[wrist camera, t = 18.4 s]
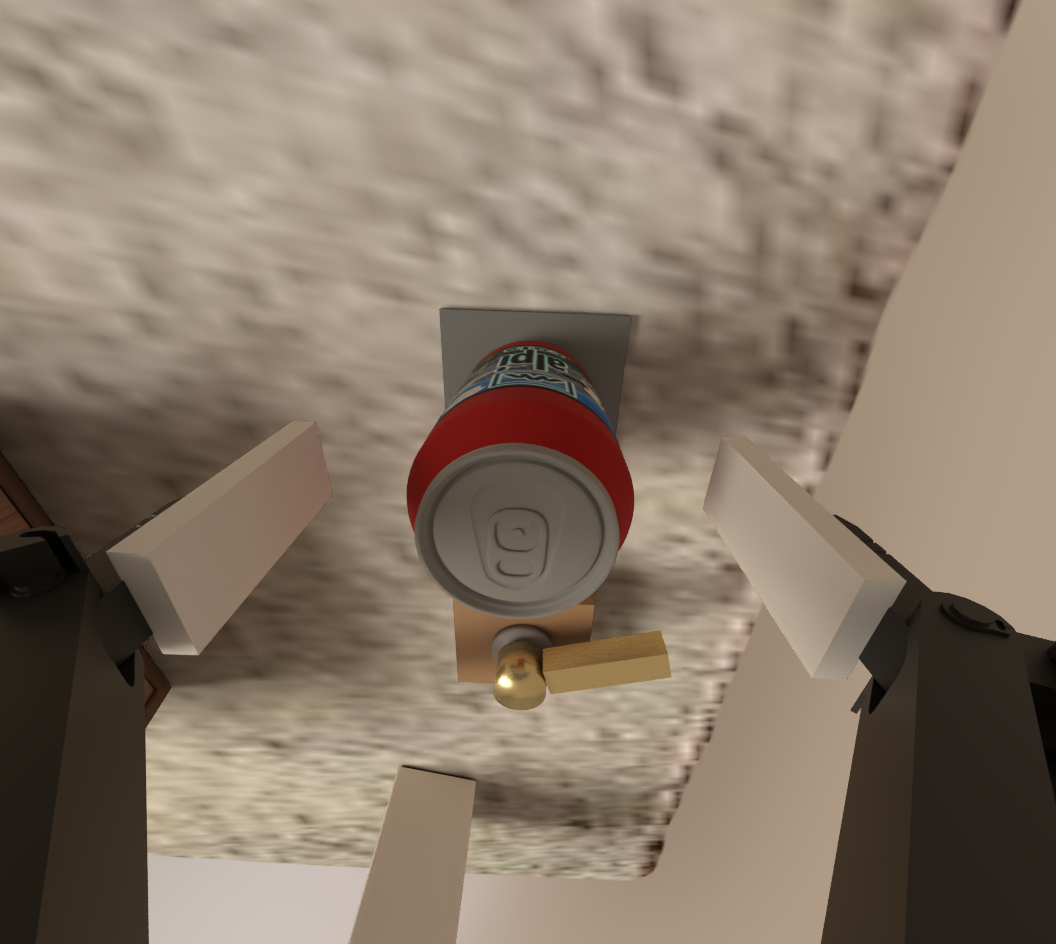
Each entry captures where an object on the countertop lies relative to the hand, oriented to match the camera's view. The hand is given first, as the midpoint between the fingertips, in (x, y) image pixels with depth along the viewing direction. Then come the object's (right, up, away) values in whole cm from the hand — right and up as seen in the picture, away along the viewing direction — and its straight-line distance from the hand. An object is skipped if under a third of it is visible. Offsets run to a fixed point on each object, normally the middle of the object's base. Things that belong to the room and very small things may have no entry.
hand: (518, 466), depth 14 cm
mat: (+1, +3, +8) cm, 9 cm away
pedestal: (0, -9, +14) cm, 17 cm away
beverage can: (0, +3, +8) cm, 9 cm away
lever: (+3, -10, +10) cm, 15 cm away
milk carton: (-9, -30, +25) cm, 40 cm away
